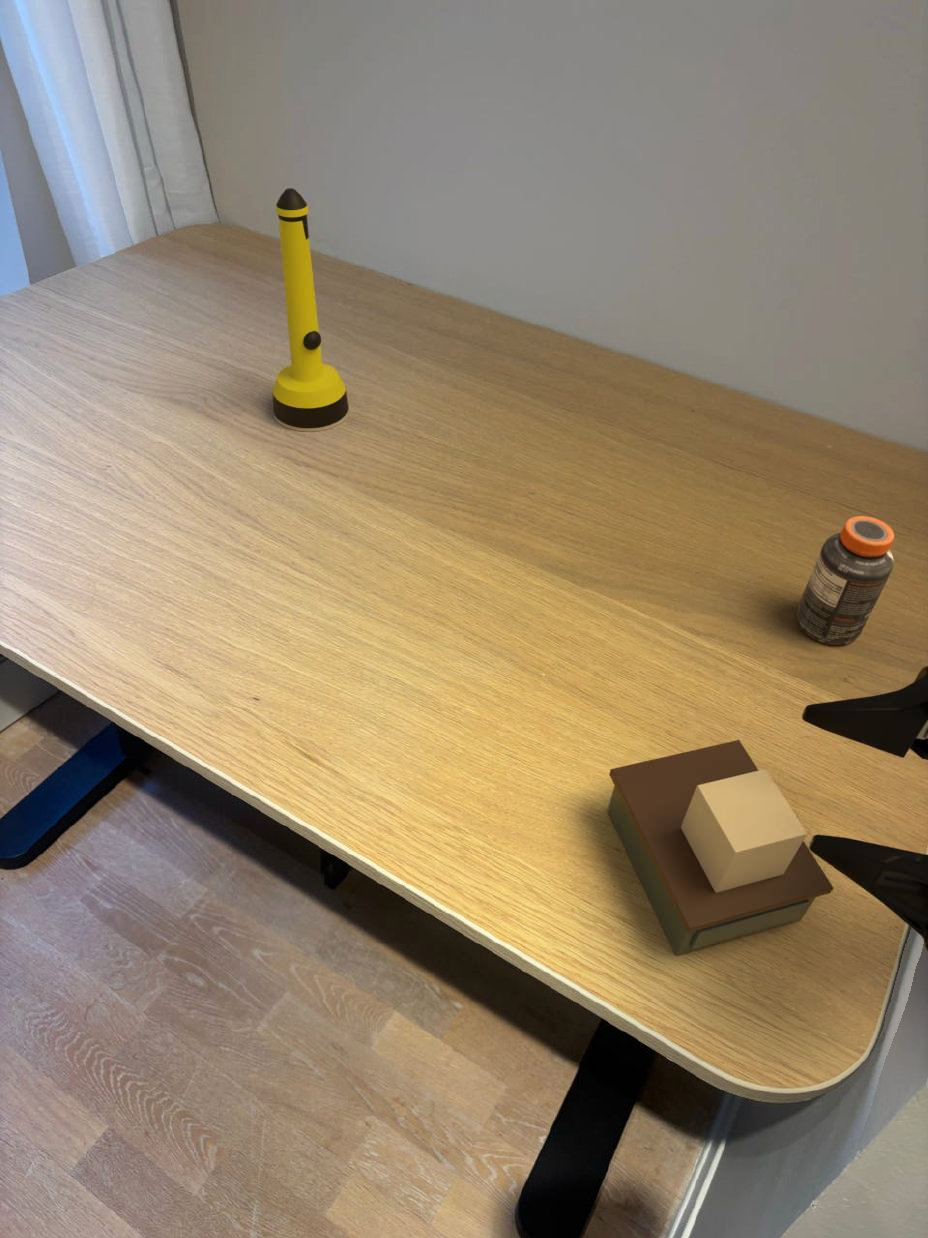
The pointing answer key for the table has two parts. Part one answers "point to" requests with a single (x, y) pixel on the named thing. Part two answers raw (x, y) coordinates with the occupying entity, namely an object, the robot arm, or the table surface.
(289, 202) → the flashlight
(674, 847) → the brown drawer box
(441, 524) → the table surface
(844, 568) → the pill bottle
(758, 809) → the beige cube
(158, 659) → the table surface
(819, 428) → the table surface
